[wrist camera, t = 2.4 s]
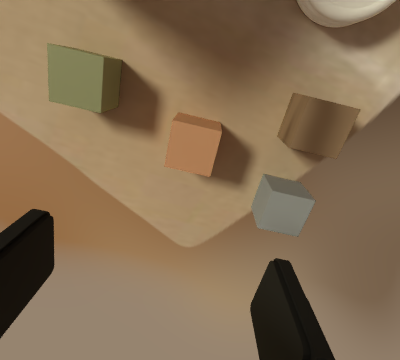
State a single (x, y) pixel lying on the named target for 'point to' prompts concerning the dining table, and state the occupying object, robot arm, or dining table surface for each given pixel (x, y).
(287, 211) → the slate-grey block
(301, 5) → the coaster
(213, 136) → the terracotta block
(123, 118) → the dining table surface
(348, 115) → the walnut block
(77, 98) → the green cube
